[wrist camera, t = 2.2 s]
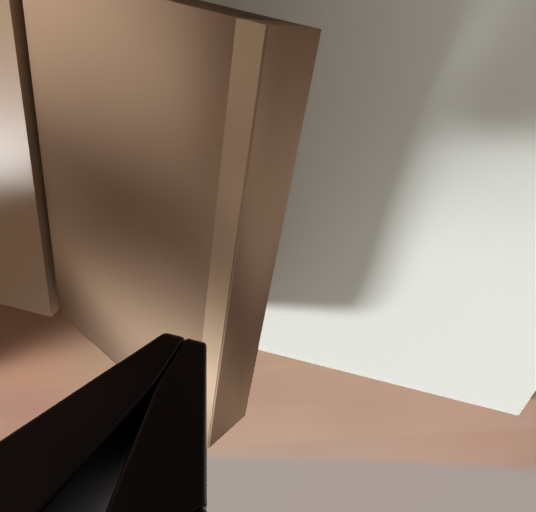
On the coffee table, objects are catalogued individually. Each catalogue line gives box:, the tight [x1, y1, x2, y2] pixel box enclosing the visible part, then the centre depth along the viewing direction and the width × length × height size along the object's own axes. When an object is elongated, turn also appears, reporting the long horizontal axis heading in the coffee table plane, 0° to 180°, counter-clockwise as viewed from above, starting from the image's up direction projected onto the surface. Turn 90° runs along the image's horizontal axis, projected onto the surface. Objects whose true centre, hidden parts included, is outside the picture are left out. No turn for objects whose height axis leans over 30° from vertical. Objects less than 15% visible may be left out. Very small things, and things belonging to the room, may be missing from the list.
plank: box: [22, 0, 322, 447], centre depth 12 cm, size 10×8×2 cm
